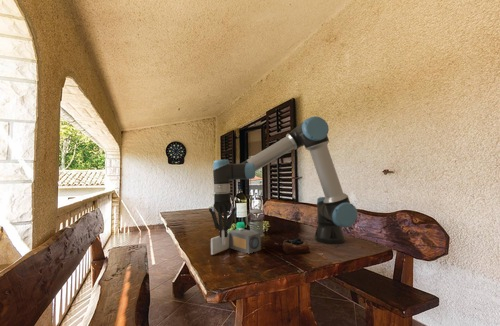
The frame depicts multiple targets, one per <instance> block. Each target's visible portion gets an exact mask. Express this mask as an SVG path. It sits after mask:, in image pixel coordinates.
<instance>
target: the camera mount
mask: <svg viewBox="0 0 500 326" xmlns="http://www.w3.org/2000/svg"><path fill="white" fill-rule="evenodd" d="M239 228H243V229H245V228H246V227H245V221H239V222H236V229H235V230H237V229H239ZM245 230H246V229H245Z"/></svg>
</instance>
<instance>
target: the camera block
mask: <svg viewBox="0 0 500 326" xmlns="http://www.w3.org/2000/svg"><path fill="white" fill-rule="evenodd" d="M228 233H230V248H229V249H232V250H235V251H238V252H242V253H245V254H247V253H248V255H251V254H253V252H254V253H256V252H258V251H261V250H262V242H261V241H262V240H261V238H262V237H261V233H259V232H254V231H250V229H243V228H239V229H237V230H236V229H233V230H232V229H231V230H228ZM250 253H251V254H250Z"/></svg>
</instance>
